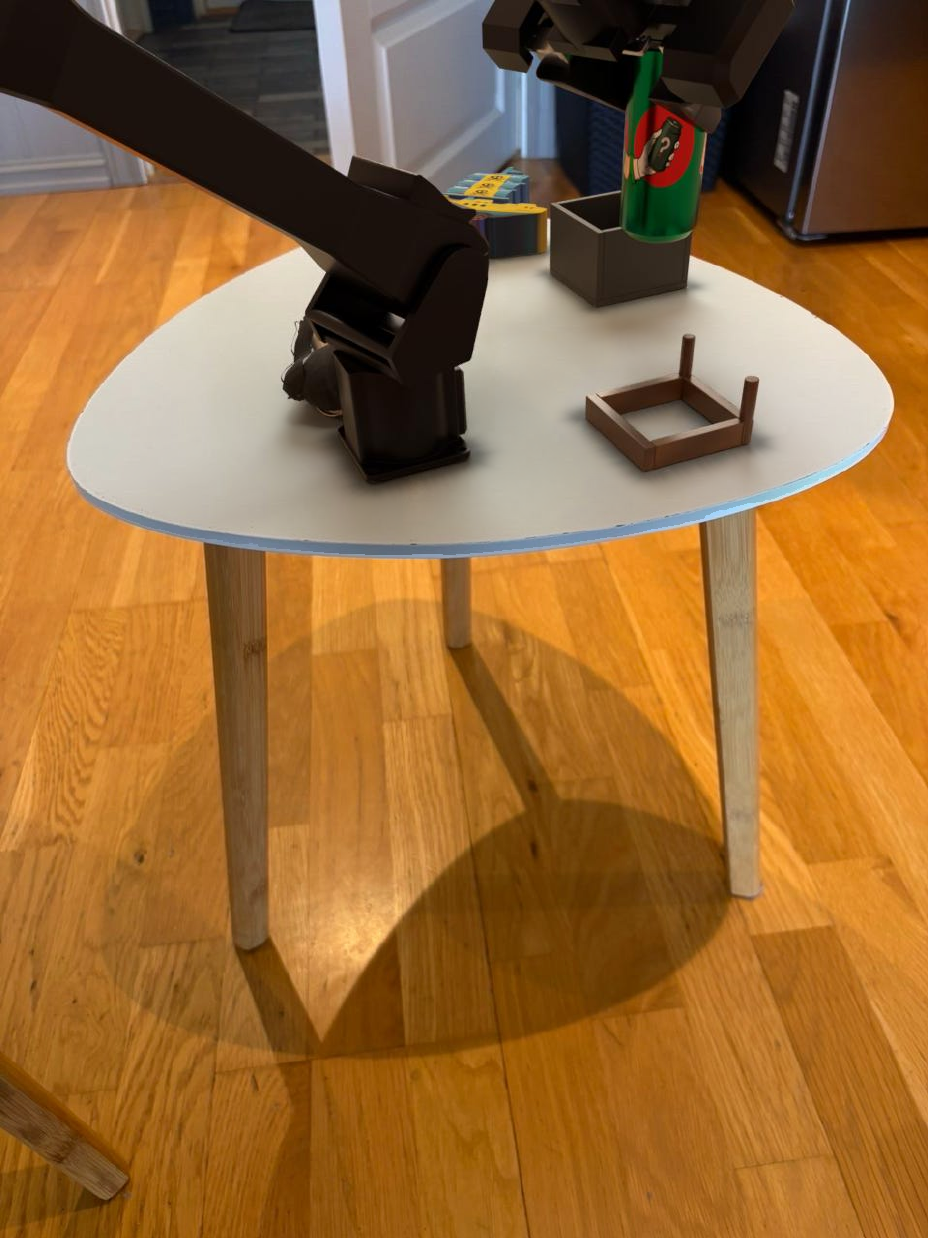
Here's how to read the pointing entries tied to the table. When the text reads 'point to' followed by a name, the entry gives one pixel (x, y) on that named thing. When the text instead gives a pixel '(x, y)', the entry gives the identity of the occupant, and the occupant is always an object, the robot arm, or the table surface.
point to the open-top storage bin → (610, 253)
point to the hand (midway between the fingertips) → (681, 119)
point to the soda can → (658, 161)
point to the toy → (503, 212)
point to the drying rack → (664, 451)
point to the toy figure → (313, 372)
